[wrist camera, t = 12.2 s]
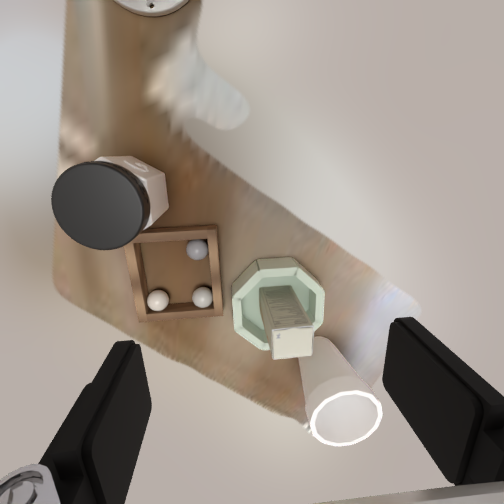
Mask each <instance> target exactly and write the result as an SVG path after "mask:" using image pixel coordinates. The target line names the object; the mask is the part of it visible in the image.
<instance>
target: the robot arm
mask: <svg viewBox="0 0 504 504" xmlns="http://www.w3.org/2000/svg"><path fill="white" fill-rule="evenodd" d="M114 1H115V2H116V3H118V4H119V5H120V6H122V7H123V8H125V9H127V10H129V11H131V12H133V13H136V14H140V15H143V16H162V15H167V14H170V13H172V12H174V11H176V10H178V9H179V8H181V7H182V6H183V5H185V4H186V3H187V2H188V1H189V0H114ZM151 5H154V7H153V8H152V9H150V6H151ZM382 380H383V385H384V387H385V389H386V391H387V392H388V393H389V395H390V397H391V398H392V400H393V401H394V402H395V404H396V405H397V407H398V408H399V410H400V411H401V413H402V414H403V416H404V417H405V418H406V420H407V422H408V423H409V425H410V426H411V428H412V429H413V431H414V432H415V434H416V435H417V436H418V438H419V439H420V441H421V442H422V444H423V445H424V447H425V448H426V450H427V451H428V453H429V454H430V455H431V457H432V459H433V460H434V462H435V463H436V465H437V466H438V468H439V469H440V470H441V472H442V473H443V475H444V476H445V478H446V479H447V480H448V481H449V482H450V483H454V484H455V486H452V487H444V488H435V489H427V490H419V491H411V492H403V493H395V494H387V495H379V496H370V497H363V498H355V499H347V500H339V501H331V502H323V503H315V504H504V397H503V396H502V395H501V394H500V393H499V392H498V391H497V390H495V389H494V388H493V387H492V386H491V385H490V384H489V383H488V382H486V381H485V380H484V379H483V378H482V377H481V376H480V375H478V374H477V373H476V372H475V371H474V370H473V369H472V368H470V367H469V366H468V365H467V364H466V363H465V362H464V361H462V360H461V359H460V358H459V357H458V356H457V355H456V354H454V353H453V352H452V351H451V350H450V349H449V348H448V347H446V346H445V345H444V344H443V343H442V342H441V341H440V340H438V339H437V338H436V337H435V336H434V335H433V334H432V333H430V332H429V331H428V330H427V329H426V328H425V327H424V326H422V325H421V324H420V323H419V322H418V321H417V320H416V319H414V318H413V317H404V318H396V319H395V320H394V322H392V323H391V324H390V329H389V336H388V343H387V350H386V357H385V364H384V371H383V378H382ZM151 404H152V403H151V397H150V392H149V387H148V382H147V377H146V372H145V367H144V362H143V358H142V352H141V347H140V345H139V344H135V342H134V341H133V340H130V341H117V342H116V343H115V344H114V345H113V347H112V349H111V350H110V352H109V354H108V356H107V357H106V359H105V361H104V362H103V364H102V366H101V368H100V369H99V371H98V373H97V375H96V376H95V378H94V379H93V381H92V383H89V384H87V385H86V386H85V388H84V389H83V390H82V392H81V394H80V395H79V397H78V399H77V400H76V402H75V404H74V406H73V407H72V409H71V410H70V412H69V414H68V415H67V417H66V419H65V420H64V422H63V424H62V425H61V427H60V429H59V430H58V432H57V434H56V435H55V437H54V439H53V440H52V442H51V444H50V445H49V447H48V449H47V450H46V452H45V453H44V455H43V457H42V459H41V460H40V462H39V463H38V464H32V465H28V466H25V467H21V468H19V469H17V470H15V471H13V472H11V473H9V474H8V475H6V476H5V477H4V478H2V479H1V480H0V504H124V503H125V500H126V496H127V493H128V489H129V486H130V482H131V479H132V476H133V472H134V469H135V465H136V461H137V458H138V455H139V451H140V448H141V444H142V441H143V437H144V434H145V431H146V427H147V423H148V420H149V417H150V413H151V406H152V405H151Z"/></svg>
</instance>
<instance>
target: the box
mask: <svg viewBox="0 0 504 504" xmlns="http://www.w3.org/2000/svg"><path fill="white" fill-rule="evenodd" d="M259 307H260V314H261V318H262V321H263V325H264V329H265V333H266V336H267V340H268V344H269V348H270V351H271V355H272V358H273V359H286V358H295V357H304V356H312V351H313V339H314V326H313V324H312V322H311V321H310V319H309V317H308V315H307V313H306V312H305V310H304V308H303V306H302V304H301V303H300V301H299V299H298V297H297V295H296V293H295V292H294V290H293V288H292V286H291V285H285V286H272V287H262V288H259Z"/></svg>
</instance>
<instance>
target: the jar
mask: <svg viewBox="0 0 504 504" xmlns="http://www.w3.org/2000/svg"><path fill="white" fill-rule="evenodd" d="M51 200H52V209H53V213H54V215H55V218H56V220H57V222H58V224H59V225H60V227H61V228H62V229H63V230H64V232H65V233H66V234H67V235H68V236H70V237H71V238H72V239H73V240H75V241H76V242H78V243H80V244H82V245H84V246H86V247H89V248H92V249H97V250H112V249H117V248H120V247H123V246H125V245H127V244H128V243H130V242H131V241H132V240H133V239H134V238H136V237H137V236H138V235H139V234H140V233H141V232H142V231H143V230H144V229H146V228H148V227H149V226H151V225H152V224H153V223H154V222H155V221H156V220H157V219H158V218H159V217H160V216H161V215H162V214H163V213H164V212H165V211H167V210H168V208H169V204H168V196H167V188H166V179H165V174H164V173H163V172H161V171H159V170H157V169H156V168H154V167H152V166H150V165H148V164H146V163H144V162H142V161H140V160H138V159H136V158H135V157H133V156H106V157H99V158H98V159H96V160H95V161H91V162H84V163H80V164H77V165H74V166H72V167H70V168H69V169H67V170H66V171H64V172H63V173H62V174H61V175H60V176H59V178H58V179H57V181H56V183H55V185H54V187H53V191H52V198H51Z"/></svg>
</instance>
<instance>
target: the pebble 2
mask: <svg viewBox="0 0 504 504" xmlns="http://www.w3.org/2000/svg"><path fill="white" fill-rule="evenodd" d="M186 251H187V254H188V256H189V257H190V258H192V259H194V260H201V259H203V258H205V257H206V256H207V254H208V251H209V248H208V245H207V243H206V242H205V241H204V240H203V239H195V240H191V241H190V242H189V243H188V244H187V247H186Z"/></svg>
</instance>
